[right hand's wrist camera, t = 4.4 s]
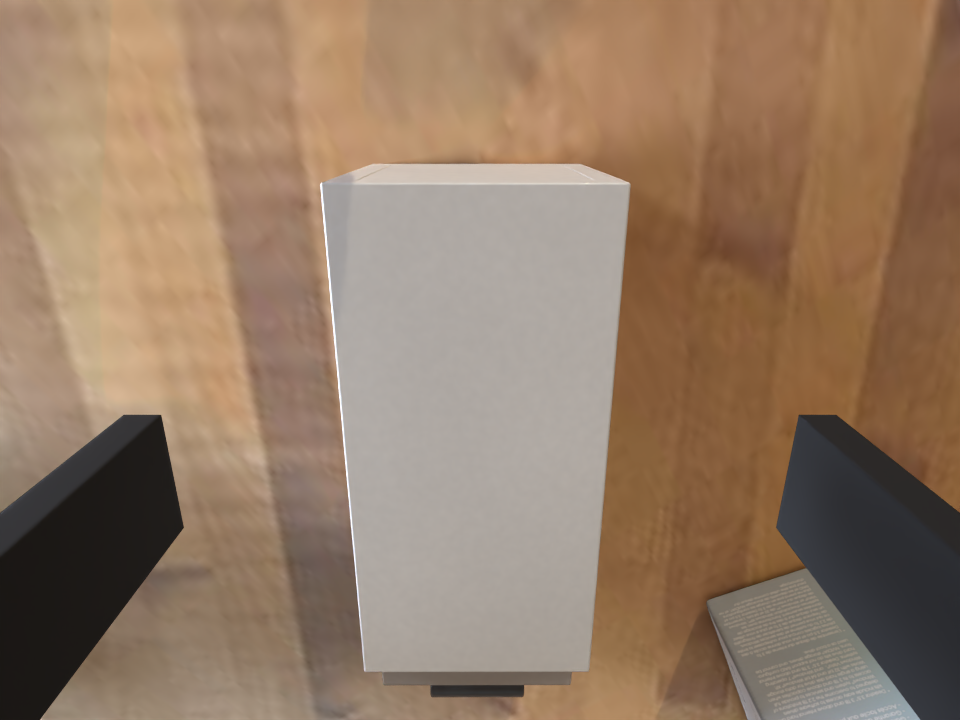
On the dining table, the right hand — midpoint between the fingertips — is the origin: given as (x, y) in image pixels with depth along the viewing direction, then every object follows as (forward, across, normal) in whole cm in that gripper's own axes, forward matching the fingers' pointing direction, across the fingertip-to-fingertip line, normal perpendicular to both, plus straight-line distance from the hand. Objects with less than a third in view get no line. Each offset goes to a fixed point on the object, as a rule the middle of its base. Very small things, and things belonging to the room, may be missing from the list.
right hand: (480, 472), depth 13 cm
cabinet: (+21, 0, -6) cm, 21 cm away
